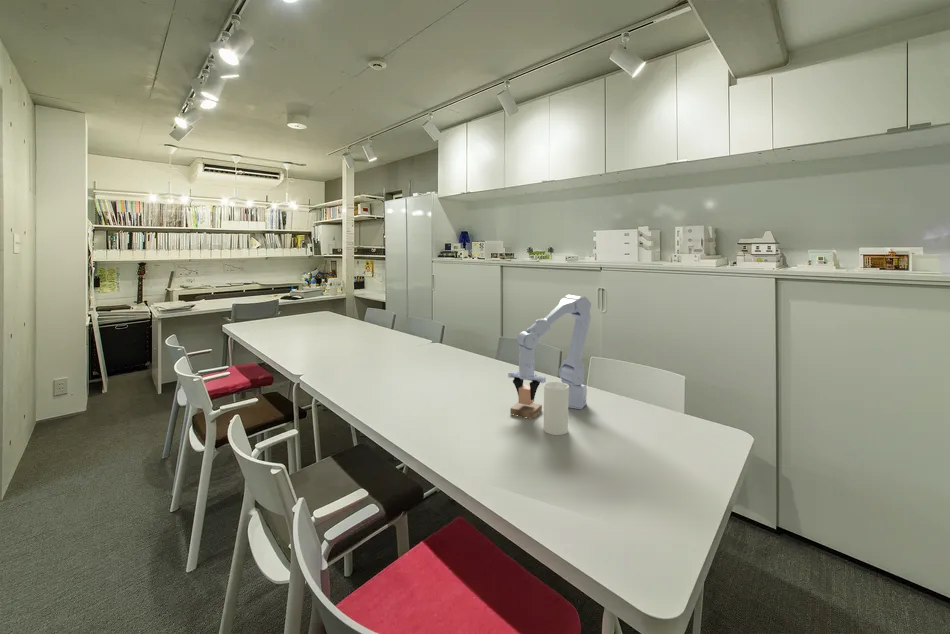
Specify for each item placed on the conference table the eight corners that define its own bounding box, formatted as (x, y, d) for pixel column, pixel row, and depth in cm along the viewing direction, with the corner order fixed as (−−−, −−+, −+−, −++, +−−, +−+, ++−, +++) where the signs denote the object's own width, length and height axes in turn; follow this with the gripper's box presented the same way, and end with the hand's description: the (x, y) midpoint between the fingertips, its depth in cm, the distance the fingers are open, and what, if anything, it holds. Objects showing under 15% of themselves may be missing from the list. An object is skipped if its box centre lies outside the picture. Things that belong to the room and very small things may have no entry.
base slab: (541, 412, 157) (541, 404, 156) (532, 420, 149) (532, 412, 148) (520, 407, 161) (520, 400, 161) (510, 415, 154) (510, 408, 153)
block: (534, 401, 155) (534, 386, 154) (529, 405, 151) (529, 389, 150) (523, 399, 157) (523, 384, 156) (518, 403, 154) (518, 387, 153)
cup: (564, 424, 144) (565, 381, 141) (570, 434, 136) (571, 389, 133) (541, 425, 144) (542, 381, 141) (546, 435, 136) (547, 389, 133)
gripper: (504, 363, 152) (504, 397, 154) (540, 368, 145) (540, 404, 147) (512, 359, 158) (512, 392, 160) (547, 364, 151) (547, 398, 153)
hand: (526, 398), depth 154 cm, fingers closed on block, 4 cm apart
